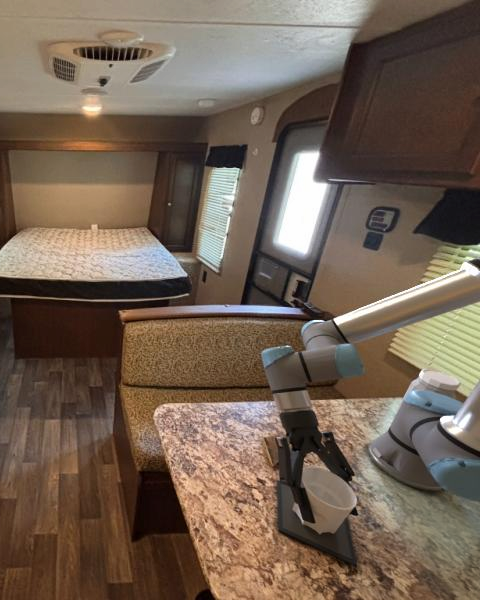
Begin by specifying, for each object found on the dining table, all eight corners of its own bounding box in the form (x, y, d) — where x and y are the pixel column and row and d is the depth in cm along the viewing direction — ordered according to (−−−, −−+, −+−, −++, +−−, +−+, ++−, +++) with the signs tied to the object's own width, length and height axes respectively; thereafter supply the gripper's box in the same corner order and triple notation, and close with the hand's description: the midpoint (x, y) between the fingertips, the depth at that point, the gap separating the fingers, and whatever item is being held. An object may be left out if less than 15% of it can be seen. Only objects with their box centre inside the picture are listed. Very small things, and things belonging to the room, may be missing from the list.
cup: (352, 538, 69) (369, 508, 65) (309, 540, 68) (324, 510, 64) (317, 494, 78) (330, 465, 74) (278, 496, 77) (290, 467, 73)
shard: (271, 468, 85) (273, 463, 85) (246, 447, 92) (248, 443, 91) (295, 454, 90) (297, 449, 89) (270, 435, 96) (272, 430, 96)
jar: (444, 436, 97) (474, 389, 90) (406, 429, 100) (432, 383, 93) (422, 414, 106) (448, 370, 99) (388, 408, 108) (410, 364, 101)
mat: (343, 508, 76) (344, 506, 76) (356, 567, 64) (357, 565, 64) (276, 481, 82) (277, 479, 82) (278, 531, 71) (279, 529, 70)
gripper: (322, 407, 82) (358, 506, 74) (244, 415, 78) (272, 521, 70) (348, 405, 75) (391, 514, 67) (264, 414, 71) (298, 531, 63)
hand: (330, 517), depth 68 cm, fingers closed on cup, 10 cm apart
